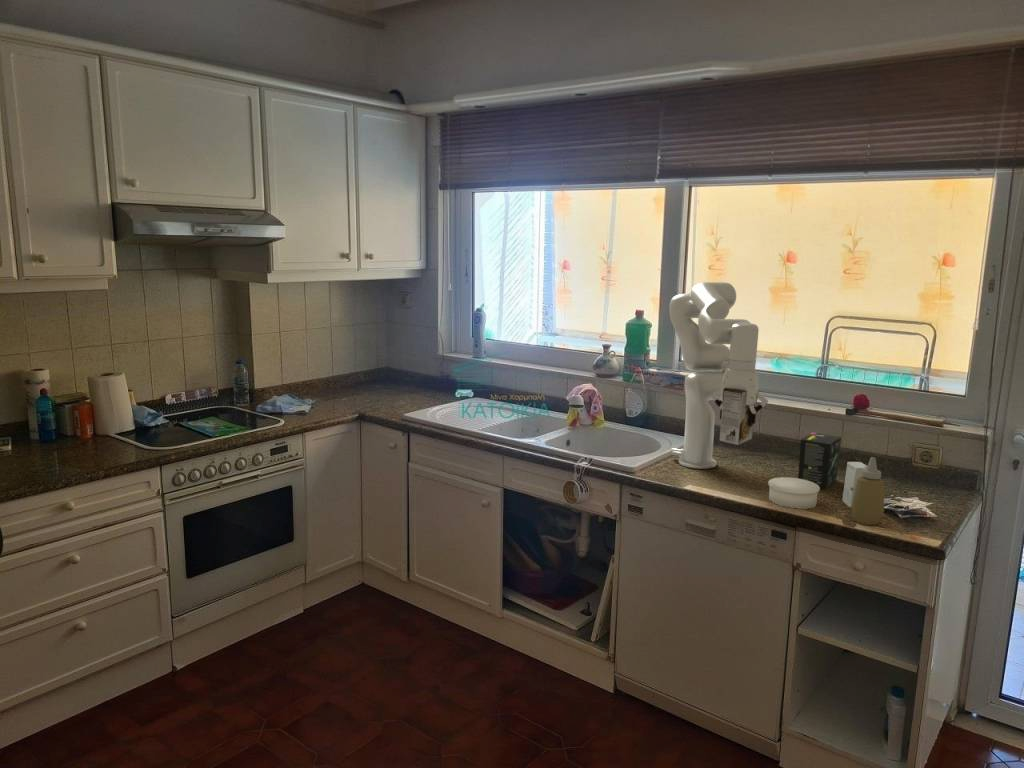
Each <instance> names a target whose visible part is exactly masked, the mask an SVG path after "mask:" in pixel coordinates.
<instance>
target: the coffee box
mask: <svg viewBox="0 0 1024 768" xmlns="http://www.w3.org/2000/svg"><path fill="white" fill-rule="evenodd" d="M746 398H747V391H743V390H738V389H730V388H724V391H723V401H722V402H723V403H722V416H721V419H720V429H719V431H720V432H719V441H720V442H724V443H728V444H732V445H733V444H734V445H737V446H739V445H741V444H743V443H745V442H748V441H749V440H752V439H753V433H754V431H753V430H754V424H753V425H752V426H751V427H749V415H750V413H751V410H750V408H749V406H747V405H746Z"/></svg>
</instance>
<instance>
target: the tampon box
mask: <svg viewBox="0 0 1024 768" xmlns="http://www.w3.org/2000/svg"><path fill="white" fill-rule="evenodd" d="M841 441H842V437H841V436H836V435H831V434H824V433H819V432H813V431H812V432H811V433H809V434H807V435H806V436H804V437H802V438H801V439H800V447H799V460H798V471H797V473H798V475H797V478H798V479H803V480H807V481H810V482H813V483H815V484H817V485H818V486H819V487H820V489H824V490H827V489H828V488H830V487H831V486H832V485H833V484H835V483H836V482H837V479H838V469H839V460H840V450H841Z"/></svg>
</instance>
